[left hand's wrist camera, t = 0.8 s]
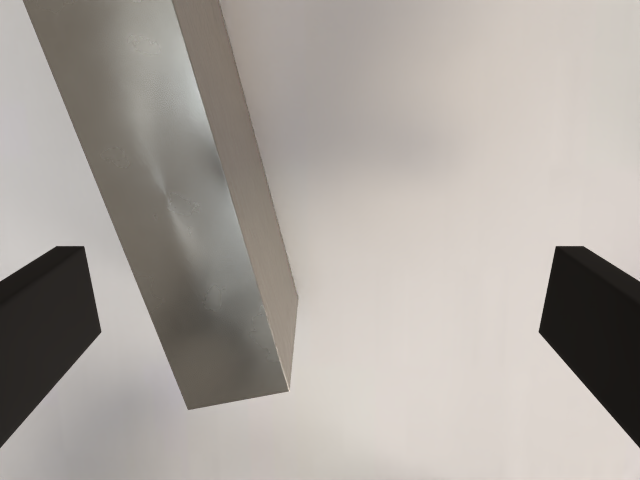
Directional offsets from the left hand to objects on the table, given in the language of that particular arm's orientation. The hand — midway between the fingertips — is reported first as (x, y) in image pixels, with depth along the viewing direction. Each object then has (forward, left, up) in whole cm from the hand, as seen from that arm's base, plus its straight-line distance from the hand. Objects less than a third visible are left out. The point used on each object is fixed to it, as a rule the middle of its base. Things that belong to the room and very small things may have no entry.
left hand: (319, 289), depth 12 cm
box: (+2, -7, -22) cm, 23 cm away
